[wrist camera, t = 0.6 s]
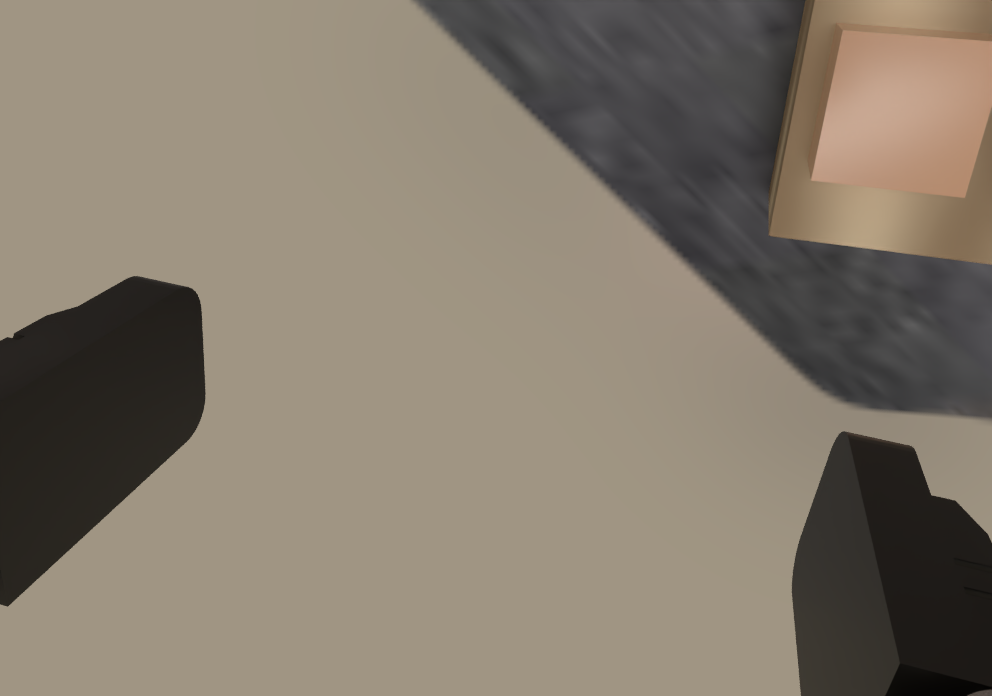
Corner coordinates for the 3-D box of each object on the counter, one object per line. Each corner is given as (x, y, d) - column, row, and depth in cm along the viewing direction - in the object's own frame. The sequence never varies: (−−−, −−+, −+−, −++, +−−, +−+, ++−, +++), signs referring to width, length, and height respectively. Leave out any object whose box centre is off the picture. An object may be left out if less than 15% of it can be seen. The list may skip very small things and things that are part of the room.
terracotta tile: (988, 33, 24) (1010, 42, 22) (948, 176, 25) (964, 198, 23) (836, 22, 25) (842, 30, 22) (807, 161, 26) (811, 180, 24)
